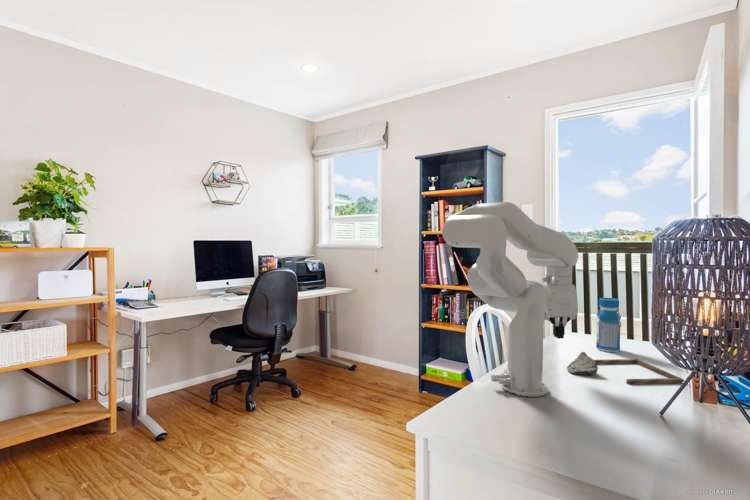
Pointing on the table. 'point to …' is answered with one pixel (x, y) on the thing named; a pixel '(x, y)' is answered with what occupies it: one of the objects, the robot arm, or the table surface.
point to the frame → (670, 377)
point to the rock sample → (583, 365)
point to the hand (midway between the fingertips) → (558, 337)
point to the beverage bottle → (608, 325)
